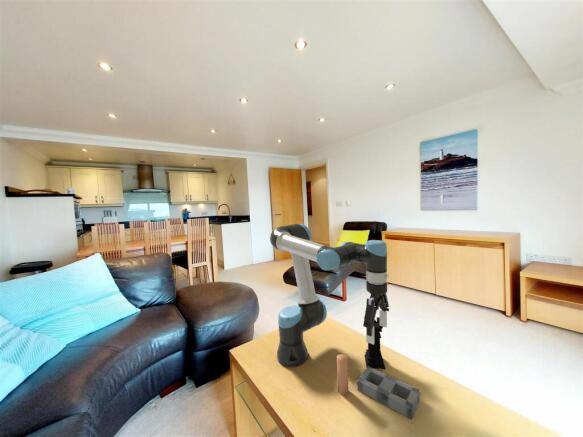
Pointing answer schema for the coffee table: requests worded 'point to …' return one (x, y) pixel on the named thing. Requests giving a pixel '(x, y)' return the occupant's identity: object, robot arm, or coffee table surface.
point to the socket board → (389, 391)
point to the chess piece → (375, 349)
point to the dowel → (342, 374)
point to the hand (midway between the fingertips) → (377, 334)
